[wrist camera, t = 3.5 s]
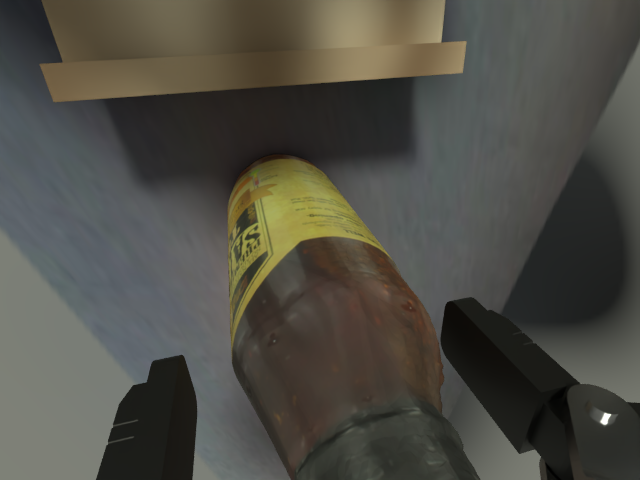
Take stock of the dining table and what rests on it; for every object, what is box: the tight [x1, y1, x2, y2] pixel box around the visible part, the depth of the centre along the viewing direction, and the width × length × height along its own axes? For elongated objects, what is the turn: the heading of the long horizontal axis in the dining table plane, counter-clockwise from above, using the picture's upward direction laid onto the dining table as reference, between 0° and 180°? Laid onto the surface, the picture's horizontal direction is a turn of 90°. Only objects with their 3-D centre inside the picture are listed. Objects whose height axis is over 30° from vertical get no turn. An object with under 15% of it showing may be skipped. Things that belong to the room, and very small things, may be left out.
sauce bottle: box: [228, 154, 480, 480], centre depth 13 cm, size 6×6×20 cm
